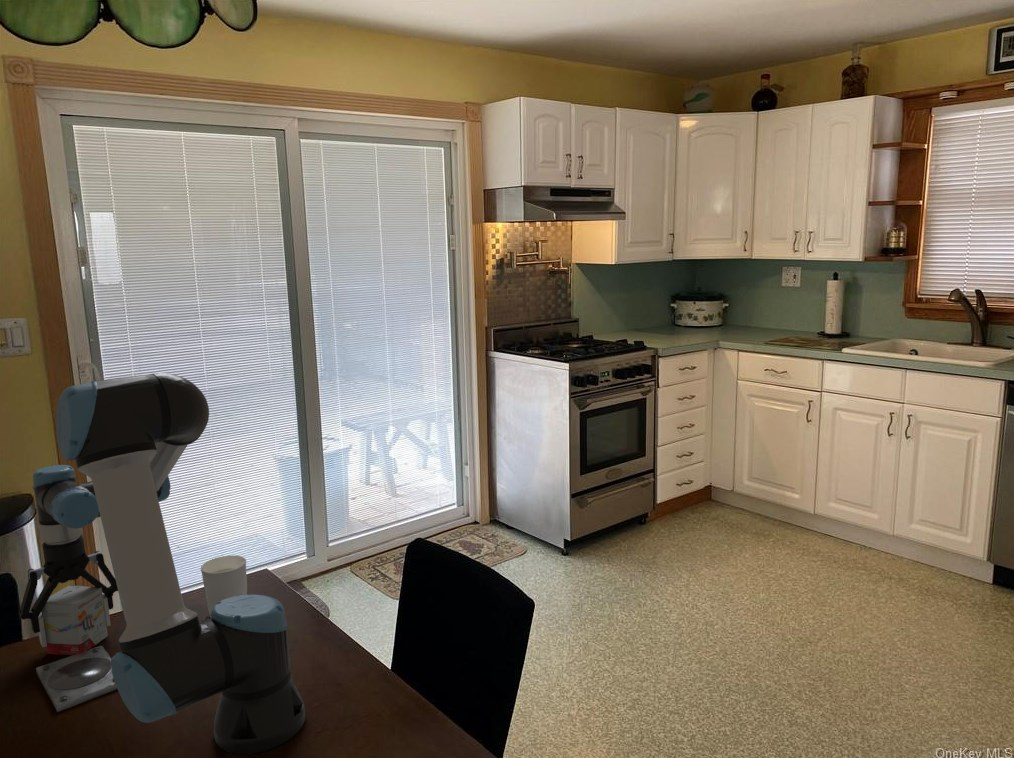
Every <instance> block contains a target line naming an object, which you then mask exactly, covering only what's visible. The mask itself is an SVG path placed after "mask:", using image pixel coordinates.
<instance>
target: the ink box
mask: <svg viewBox="0 0 1014 758" xmlns="http://www.w3.org/2000/svg"><path fill="white" fill-rule="evenodd" d="M103 594H104V593H102V588H98V589H97V588H96V587H95V586H88V585H87V586H86V585H85V586H83V585H71V584H70V585H67V586H66V587H64V588H62V589H60V590H59V591H56V592H55V593H53V594H51V595H50V597H49V599H48V601H47V602H46V604H45V606H44V608H43V609H42V611H41V613H40V614H41V615H42V617H43V622H44V629H45V635H46V642H47V647H45V650H46V654H48V655H58V656H59V655H60V656H72V655H75V654H78V653H81V652H84V651H87V650H90V649H93V648H95V646H96V645H97V644H99V643H100V642H101V641H103V640H105V639H106V638H107V637H108V628H107V627H108V626H106V618H105V610H104V602H103Z"/></svg>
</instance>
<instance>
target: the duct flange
mask: <svg viewBox="0 0 1014 758" xmlns="http://www.w3.org/2000/svg"><path fill="white" fill-rule="evenodd" d="M111 659H112V657H111V656H110V655H109V653H108V652H107V650H106V649H105V648H104V646H103V645H99V646H96V647H92V648H91V649H90V650H87V651H84V652H81V653H78V654H75V655H68V656H67V657H64V658H60V659H58V660H56V661H52V662H49V663H47V664H44V665H41V666H38V667H36V668H35V670H36V675H37V676H38V678H39V681H40V682H41V684H42V686H43V688H44V690H45V692H46V694H47V696H48V697H49V699H50V701H51V703H52V704H53V707H54V708H55V710H56V712H57V713H59V712H61V711H65V710H67V709H70V708H72V707H75V706H78V705H80V704H82V703H85V702H88V701H91V700H93V699H95V698H98V697H101V696H103V695H106V694H108V693H111V692H114V691H115V690H116V691H117V690H118V689H117V686H116V684H115V681H114V678H113V675H112V667H111Z"/></svg>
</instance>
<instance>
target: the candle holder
mask: <svg viewBox="0 0 1014 758" xmlns="http://www.w3.org/2000/svg"><path fill="white" fill-rule="evenodd" d="M200 573H201V577H202V582H203V587H204V594H205V599H206V600H205V601H206V605H207V610H208V614H209V617H210V618H209V619H211V618H212V616H211V612H212V609H213V607H214V606H215V605H216V604H217V603H218V602H219V601H221V600H224V599H226V598H230V597H234V596H239V595H248V584H247V583H248V582H247V581H248V578H247V559H246V558H245V557H243V556H241V555H223V556H219V557H215V558H213V559H209V560H207V561H206V562H204V563H203V564H202V565H201V567H200Z"/></svg>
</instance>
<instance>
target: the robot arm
mask: <svg viewBox="0 0 1014 758" xmlns="http://www.w3.org/2000/svg"><path fill="white" fill-rule="evenodd" d="M56 407H57V408H56V414H55V415H56V416H55V420H56V423H55V426H56V441H57V445H58V446H57V447H58V449H59V451H60V452H59V453H60V455H61V457H62V458H63V459H64V460H66V461H69V462H70V461H71V462H73V461H74V460H75V464H76V466H77V467H76V468H77V471H78V472H79V473H82V474H83V475H85V476H87V477H88V478H90V481H87V482H86V481H85V482H82V483H77V476H76V473H75V469H74V467H73V466H72V465H67V464H56V465H51V466H49V465H48V466H44V467H42V468H39V469H37V470H35V471H34V473H33V475H32V480H33V481H32V484H33V486H32V489H33V491H34V492H33V493H34V497H35V502H36V503H35V504H36V512H37V517H38V523H39V525H38V526H39V531H40V538H41V542H42V545H41V547H42V553H43V560H44V565H43V566H42V567H40V568H37V569H34V568H29V569H28V570H27V580H28V581H27V584H26V587H25V590H24V593H23V594H24V595H23V596H22V597H23V598H22V601H21V604H20V607H19V611H18V615H19V617H20V619H21V620H27V619H28V620H29V621H30V625H31V630H32V632H33V633H34V634H36V633H38V638H39V642H40V645H41V647H42V648H46V647H47V642H46V635H45V629H44V622H43V617H42V614H41V611H42V609H43V608H44V606H45V604H46V602H47V601H48V599H49V597H50V596H52V595H53V594H52V593H53V591H54V590H55V589H56V588H57V587H58V585H59V584H65V583H67V582H70V581H76V580H78V579H79V578H80V577H82V579H84V580H86V581H87V582H88V583H89V584H90V585H93V587H96V588H97V589H98V588H102V594H103V602H104V610H105V618H106V627H110V626H111V618H110V610H113V609H114V600H113V597H114V593H116V592H118V595H119V600H120V604H121V609H122V612H123V616H124V620H125V624H126V626H125V628H124V631H123V632H122V633H121V635H120V637H119V638H118V644H119V647H120V648H119V649H120V651H119V652H116V653H115V654H114V655H113V656H112V657H111V667H112V675H113V678H114V681H115V684H116V686H117V689H116V690H117V691H118V693H119V696H120V697H121V699H122V701H123V704H124V705H125V706H126V708H127V709H128V710H129V712H130V714H131V715H132V716H133V717H134V718H136V720H137V721H140V722H142V723H146V724H147V723H153V722H155V721H158V720H161V719H163V718H167V717H168V716H174V715H176V714H177V713H178V712H180V711H182V710H185V709H186V708H189V707H191V706H193V705H195V704H197V703H200V702H202V701H204V700H206V699H209V698H211V697H213V696H214V695H217V694H220V695H219V700H218V703H217V704H218V705H217V707H216V713H215V716H214V721H213V736H214V740H215V744H216V745H217V747H219V748H220V749H221V750H223V751H225V752H226V753H227V752H228V753H231V754H237V755H250V754H257V753H261V752H267V751H269V750H272V749H275V748H277V747H279V746H281V745H283V744H285V743H286V742H288V741H290V740H291V739H292V738H293V737H295V736H296V735H297V734H298V733H299V731H301V729H302V727H303V725H304V724H305V721H306V710H305V703H304V700H303V698H302V696H301V694H300V692H299V690H298V688H297V686H296V684H295V682H294V680H293V678H292V673H291V672H292V670H291V659H290V658H291V657H290V648H289V646H290V645H289V636H288V626H289V625H288V622H287V618H286V612H285V608H284V606H283V603H282V602H280V601H279V600H278V599H276V598H274V597H271V596H268V595H263V594H255V593H254V594H247V595H239V596H234V597H230V598H226V599H224V600H221V601H219V602H218V603H217V604H216V605H215V606H214V607H213V609H212V612H211V616H212V618H209V619H207V620H204V621H202V622H200V621H199V620H200V619H199V615H198V613H197V612H196V611H193V610H191V609H189V608H187V607H186V606H185V603H184V598H183V595H182V591H181V586H180V581H179V578H178V574H177V571H176V566H175V562H174V559H173V554H172V551H171V546H170V543H169V538H168V534H167V530H166V525H165V521H164V518H163V515H162V509H161V505H160V502H162V501H165V500H167V499H168V498H169V497H170V494H171V481H170V480H171V479H170V478H169V475H170V473H171V471H173V469H174V467H175V466H176V464H177V462H178V461H179V460H180V458H181V457H182V455H183V453H184V452H185V450H186V448H187V447H188V446H189V445H191V444H193V443H195V442H197V440H199V438H200V437H201V436H202V435H203V433H204V431H205V430H206V428H207V426H208V423H209V418H210V408H209V407H210V406H209V403H208V401H207V399H206V396H205V394H204V393H203V392H202V390H200V388H198V386H197V385H196V384H194V382H192V381H190V380H189V379H186V378H185V377H183V376H180V375H177V374H173V373H166V372H157V373H150V374H146V375H136V376H135V375H134V376H128V377H127V376H126V377H119V378H110V379H109V378H108V379H102V380H92V381H89V382H85V383H79V384H76V385H72V386H71V385H70V386H68V387H66V388H65V389H64V390H63V391H62V392H61V394H60V396H59V398H58V402H57V406H56ZM98 518H100V521H101V525H102V529H103V533H104V536H105V541H106V545H107V549H108V553H109V558H110V563H111V566H112V570H113V571H112V572H113V573H112V572H111V570H110V569H109V567H108V566H107V565H106V564H105V559H104V555H103V553H102V552H101V551H99V550H97V551H95V552H94V553H91V554H88V555H87V553H86V545H85V540H84V539H85V538H84V535H83V533H84V532H83V531H84V530H83V528H85V527H87V526H89V525H90V524H92V523H93V522H95V520H96V519H98ZM90 562H92V563H93V564H94V565H97V567H98V568H99V570H100V572H102V574H103V576H104V577H105V578H106V580H107V582H108V583H109V585H110V586H108V587H107V586H106V585H105V584H104V583H103V582H102V581H100V580H99V579H97V578H96V576H94V575H93V574H92V573H89V572H88V571H87V570H86V568H87V566H88V564H89V563H90ZM43 574H45V576H48V577H47V580H46V581H45V584H44V586H43V588H42V589H41V592H40V593H39V595H38V596H37V598H36V600H35V602H34V603H33V600H34V597H35V593H36V589H37V587H38V581H39V580H41V578H42V575H43ZM32 604H33V605H32Z"/></svg>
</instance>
